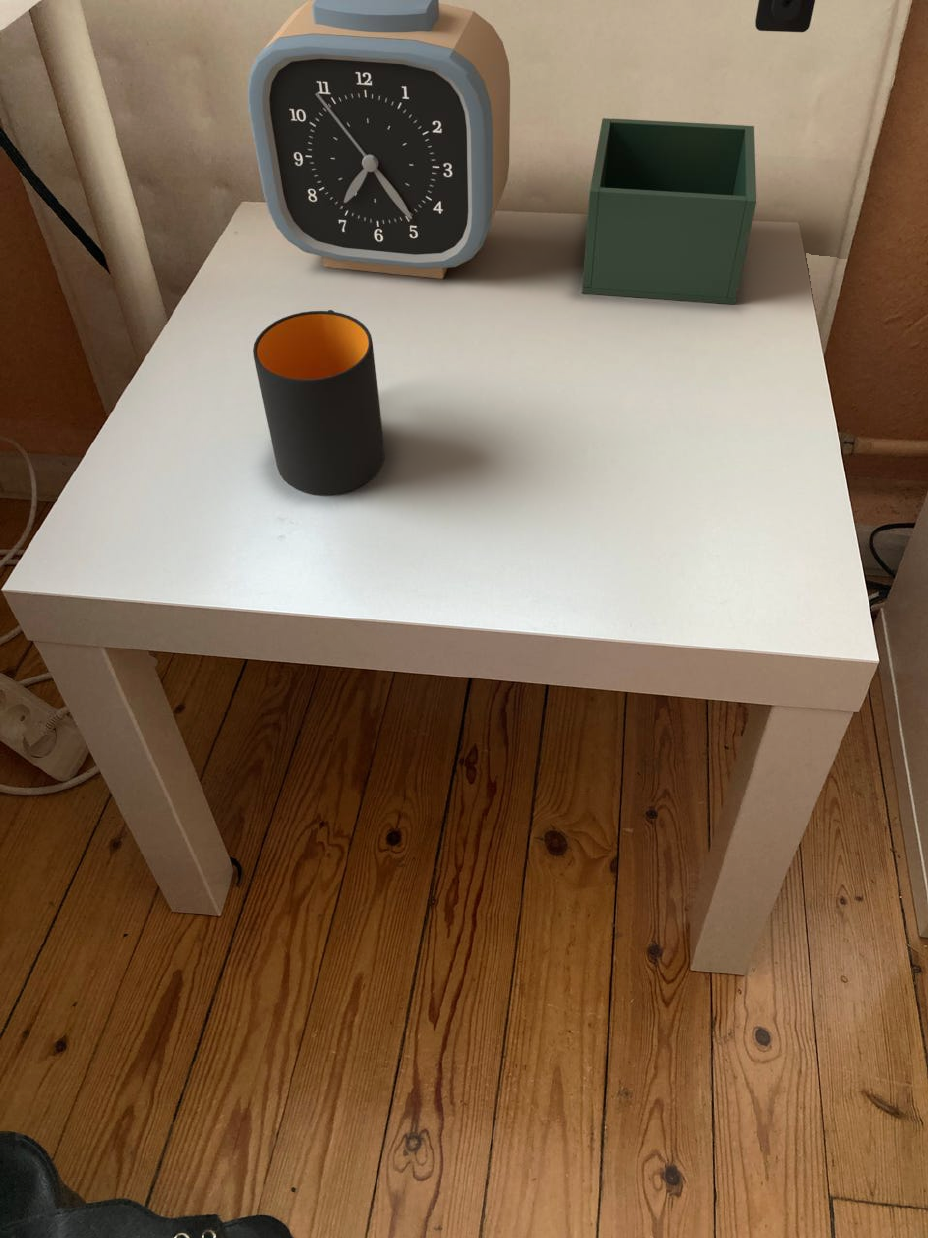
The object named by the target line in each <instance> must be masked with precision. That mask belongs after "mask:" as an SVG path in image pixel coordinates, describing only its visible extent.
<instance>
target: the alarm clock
mask: <svg viewBox="0 0 928 1238" xmlns="http://www.w3.org/2000/svg"><path fill="white" fill-rule="evenodd" d="M439 1H440V0H308V1H307V2H305V3H304V4H303V5H301V6H300V7H299V8H298V9H296V10H295V11H294V12H292V14H291V15H290V16H289V17H288V18H287V20H286V21H285V22H284V23H283V25H282V26H281V27H280V28H279V29H278V31H277V32H275V34H274V35H273V37H272V38H271V39H270V41H269V42H268V43H267V44H266V45H265V47H263V49H261V51H260V53H258V55H257V57H256V58H255V61H254V63H253V65H252V67H251V69H250V71H249V77H248V86H247V91H246V92H247V93H246V95H247V103H248V104H247V106H248V115H249V119H250V125H251V131H252V137H253V142H254V149H255V153H256V160H257V164H258V169H259V176H260V181H261V187H262V192H263V197H264V200H265V204H266V207H267V211H268V213H269V215H270V217H271V219H272V221H273V223H274V225H275V227H276V229H277V230H278V231H279V232H280V234H282V236H283V237H284V238H285V239H286V241H288V242H289V243H291V244H292V245H293V246H295V247H296V248H298V249H300V251H302V252H304V253H307V254H311V255H315V256H318V257H322V263H323V267H324V268H333V269H341V270H350V271H351V270H352V271H360V272H361V271H362V272H370V273H371V272H372V273H382V274H392V275H400V276H401V275H403V276H410V277H411V276H412V277H422V278H430V279H431V278H432V279H441V280H443V279H444V277H445V274H446V273H447V270H448V269H449V268H457V267H458V266H460V265H462V264H465V263H466V262H468V261H470V260H472V259H473V258H474V257H475V255H476V254H477V253H478V252H479V251H480V250H481V249H482V247H483V246H484V243H485V240H486V238H487V235H488V233H489V231H490V230H489V229H490V228H491V226H492V222H493V220H494V217H495V214H496V211H497V209H498V206H499V204H500V201H501V198H502V196H503V193H504V191H505V187H506V185H507V182H508V178H509V177H508V176H509V168H510V139H511V138H510V136H511V135H510V132H511V131H510V130H511V129H510V127H511V124H510V123H511V76H510V75H511V74H510V62H509V59H508V55H507V52H506V49H505V46H504V42H503V39H501V38H500V35H499V34H498V33H497V31H496V29H495V28H494V27H493V24H491V23H489V22H488V21H487V20H486V19H485V18H483V17H482V16H481V15H480V14H478V13H477V12H476V11H474V10H472V9H471V10H470V9H467V8H462V7H458V6H454V5H450V4H445V3H442V2H439Z"/></svg>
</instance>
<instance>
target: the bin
mask: <svg viewBox="0 0 928 1238" xmlns="http://www.w3.org/2000/svg"><path fill="white" fill-rule="evenodd" d="M755 145H756V144H755V126H754V125H743V124H725V123H724V124H723V123H706V122H688V121H687V122H685V121H668V120H667V121H666V120H650V119H648V120H647V119H631V118H630V119H629V118H609V117H607V118H606V117H605V118H604V117H603V118H602V119H601V124H600V130H599V136H598V142H597V147H596V152H595V153H596V154H595V158H594V164H593V170H592V176H591V181H590V187H589V195H588V208H587V221H586V233H585V246H584V247H585V248H584V261H583V274H582V286H581V287H582V289H581V294H587V295H588V294H589V295H601V296H602V295H603V296H613V297H614V296H615V297H616V296H617V297H630V298H641V299H642V298H643V299H655V300H669V301H685V302H696V303H709V304H711V303H713V304H723V305H724V304H725V305H736V303H737V297H738V292H739V288H740V282H741V278H742V272H743V269H744V264H745V259H746V255H747V248H748V244H749V239H750V234H751V230H752V226H753V220H754V215H755V210H756V206H757V181H756V178H757V177H756V149H755Z"/></svg>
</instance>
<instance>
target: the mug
mask: <svg viewBox="0 0 928 1238" xmlns="http://www.w3.org/2000/svg"><path fill="white" fill-rule="evenodd" d="M252 354H253V359H254V365H255V369H256V374H257V379H258V384H259V389H260V393H261V394H260V395H261V398H262V402H263V408H264V413H265V418H266V423H267V426H268V432H269V436H270V440H271V441H270V442H271V445H272V450H273V454H274V460H275V464H276V469H277V470H278V471H277V472H278V474H279V476H280V477H281V478H282V479H283V481H285V482H286V483H287V484H288V485H289V486H291V487H292V488H294V489H296V490H298V491H301V492H303V493H307V494H310V495H311V494H312V495H320V496H333V495H338V494H339V495H340V494H344V493H347V492H352V491H354V490H356V489H358V488H361V487H362V486H364V485H365V484H367V483H369V482H370V481H371V480H373V479H374V477H375V476H376V475H377V474H378V473H379V471H380V469H381V468H382V466H383V464H384V460H385V445H384V436H383V425H382V416H381V407H380V398H379V396H380V395H379V387H378V380H377V369H376V360H375V359H376V358H375V351H374V342H373V337H372V334H371V332H370V330H369V328H368V327H367V326H366V325H365V324H364V323H362V322H361V321H360V320H358V319H357V318H355V317H353V316H351V315H348V314H345V313H342V312H336V311H334V310H332V309H329V310H311V311H304V312H303V311H302V312H298V313H294V314H290V315H287V316H284V317H282V318H280V319H277V320H276V321H274V322H272V323H271V324H269V325H268V326H267V327H266V328H265V329H263V330H262V331H261V332H260V333H259V335H258V336H257V337H256V339H255V341H254V344H253V349H252Z"/></svg>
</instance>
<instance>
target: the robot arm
mask: <svg viewBox="0 0 928 1238" xmlns="http://www.w3.org/2000/svg"><path fill="white" fill-rule="evenodd" d="M815 3H816V0H758V3H757V8H756V14H755V19H754V24H755V28H756V30H757V31H758V32H759V31H760V32H779V33H780V32H782V33H805V32H807V31H809V29H810V26H811V22H812V19H813V18H812V17H813V13H814V8H815Z"/></svg>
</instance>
